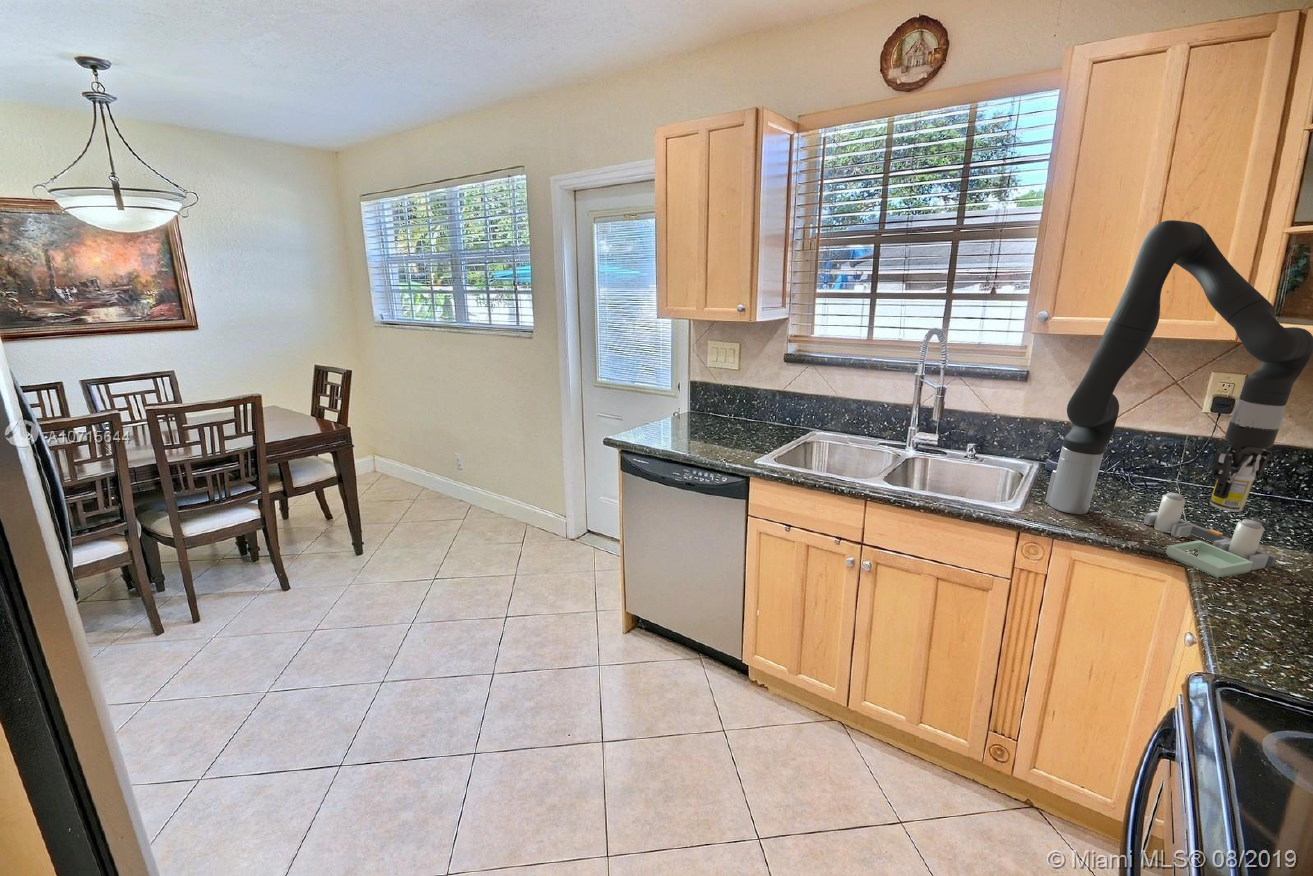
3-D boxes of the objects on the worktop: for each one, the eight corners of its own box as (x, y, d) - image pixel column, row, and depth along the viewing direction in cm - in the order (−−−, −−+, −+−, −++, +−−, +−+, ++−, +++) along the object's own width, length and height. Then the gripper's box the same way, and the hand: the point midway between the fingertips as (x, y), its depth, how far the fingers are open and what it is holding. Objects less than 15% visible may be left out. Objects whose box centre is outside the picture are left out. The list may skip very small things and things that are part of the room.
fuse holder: (1142, 524, 154) (1145, 513, 153) (1161, 520, 156) (1165, 510, 155) (1253, 570, 132) (1257, 558, 131) (1274, 566, 134) (1278, 554, 133)
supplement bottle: (1223, 502, 133) (1238, 459, 130) (1249, 512, 128) (1266, 469, 125) (1201, 502, 132) (1216, 460, 129) (1227, 513, 127) (1243, 469, 124)
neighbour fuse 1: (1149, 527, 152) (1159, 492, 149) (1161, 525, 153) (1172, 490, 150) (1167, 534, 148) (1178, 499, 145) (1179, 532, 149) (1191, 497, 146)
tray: (1164, 555, 138) (1167, 545, 137) (1196, 549, 141) (1199, 540, 140) (1216, 578, 128) (1220, 568, 127) (1249, 572, 131) (1253, 562, 130)
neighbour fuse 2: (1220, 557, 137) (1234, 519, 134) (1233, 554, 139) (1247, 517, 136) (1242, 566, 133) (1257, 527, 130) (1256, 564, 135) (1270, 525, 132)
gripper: (1256, 415, 129) (1231, 486, 135) (1210, 419, 125) (1187, 492, 131) (1299, 425, 123) (1272, 499, 128) (1253, 430, 119) (1226, 506, 124)
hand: (1229, 495), depth 129 cm, fingers closed on supplement bottle, 5 cm apart
